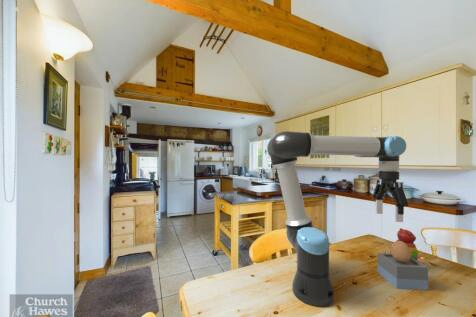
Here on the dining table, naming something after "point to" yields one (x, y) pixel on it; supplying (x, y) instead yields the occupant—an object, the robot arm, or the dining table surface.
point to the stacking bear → (408, 241)
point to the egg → (400, 251)
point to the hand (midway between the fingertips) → (388, 217)
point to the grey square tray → (403, 272)
